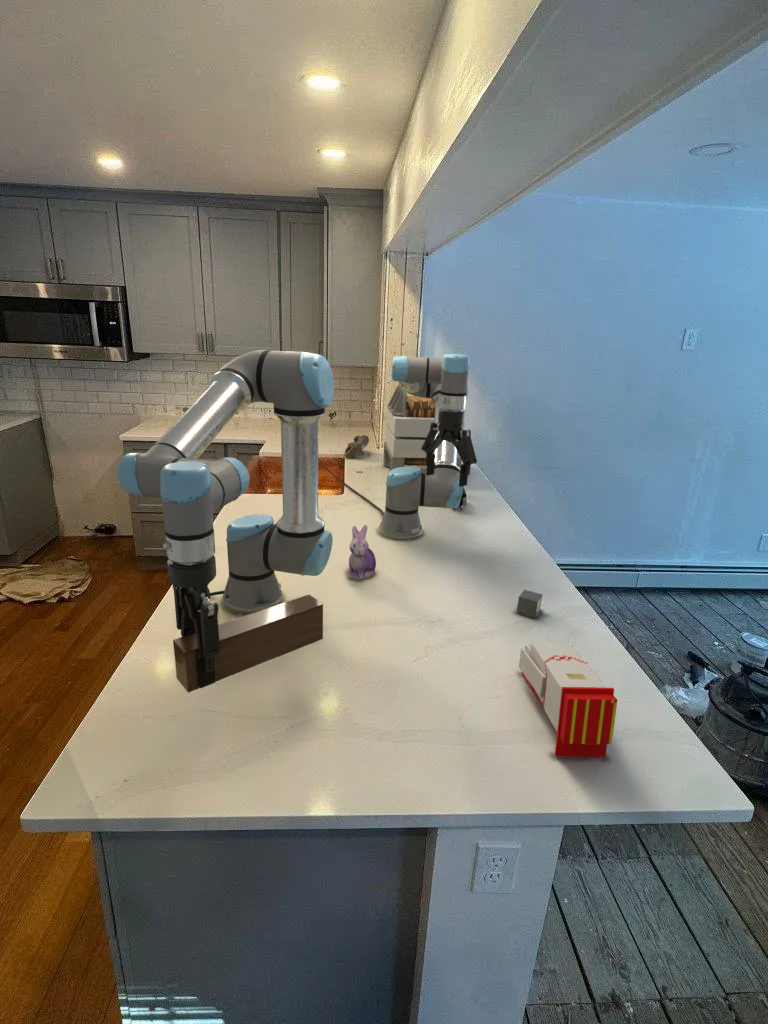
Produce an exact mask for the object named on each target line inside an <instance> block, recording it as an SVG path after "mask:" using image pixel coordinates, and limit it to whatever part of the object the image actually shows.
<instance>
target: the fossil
mask: <svg viewBox="0 0 768 1024" xmlns="http://www.w3.org/2000/svg"><path fill="white" fill-rule="evenodd" d="M369 443H370V438H369V435H366V434H362V435H360V434H359V435H355V436H354V437H353V442H349V443H348V444H347V447H346V448H345V449H344V450H345V451H344V457H345V458H347V459H351V458H353V457H356V456H357V455H358V454H359V453H361V454H362V455H364V454H365V453H364V452H363V450H364V449H365V447H367V446H368V444H369Z"/></svg>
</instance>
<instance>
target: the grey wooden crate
mask: <svg viewBox="0 0 768 1024" xmlns="http://www.w3.org/2000/svg"><path fill="white" fill-rule="evenodd" d="M407 394H408V393H407V392H405V391H404V390H403V389H402V388H401V386H400V384H398V385H397V386H396V388H395V390H394V392H393V394H392V395H391V398H390V400H389V402H388V404H387V405H386V413H385V414H386V415H385V423H386V428H385V438H384V442H383V466H384V467H388V468H389V472H390V471H391V470H393V469H395V468H399V467H405V466H406V467H407V466H412V467H417V466H418V467H427V464H426V452H425V451H423V450H422V449H421V448H422V446H423V444H424V441H425V439H426V437H427V435H428V433H429V431H430V427H431V423H434V420H435V406H434V405H433V404H432V402H431V398H421V397H417V396H414V395H407ZM462 430H465V419H464V423H463V425H462ZM432 454H433V453H432ZM462 463H463V462H462V460H461V458H460V456H459V454H458V451H457V466H458V467H459V468H461V464H462Z"/></svg>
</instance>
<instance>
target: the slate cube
mask: <svg viewBox="0 0 768 1024" xmlns="http://www.w3.org/2000/svg"><path fill="white" fill-rule="evenodd" d="M542 600H543V593H539V592H535V591H532V590H528V589H525V588H524V589H523V590H522V592H521V593H520V594H519V596H518V599H517V608H516V614H517V615H521V616H525V617H528V618H532V619H536V618H537V617H538V615H539V613H540V612H541V607H542Z"/></svg>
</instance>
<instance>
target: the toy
mask: <svg viewBox="0 0 768 1024" xmlns="http://www.w3.org/2000/svg"><path fill="white" fill-rule="evenodd" d="M518 668H519V670H520V671H521V675H522V677H523V678H524V680H525V681H526V683H527V684H528V686H529V687H530V689H531V691H532V692H533V693H534V696H535V697H536V699H537V700H538V702H539V703H540V705H541V706H542V707H543V711H544V712H545V713H546V715H547V717H548V719H549V721H550V722H551V724H552V726H553V727H554V730H555V732H556V739H555V748H554V749H555V750H554V756H555V757H561V758H562V757H563V758H564V757H567V758H568V757H569V758H570V757H571V758H573V757H574V758H576V757H577V758H606V757H607V749H608V745H613V739H614V738H613V737H614V729H615V724H616V723H615V722H616V714H617V707H618V698H617V697H616V696H615V695H614V694H615V688H614V687H607V685H606V684H605V682H604V681H603V680H602V679H601V678H600V677H599V675H598V673H596V672H595V670H594V669H593V668H592V666H590V664H589V663H588V662H587V660H586V659H585V658H584V657H583V655H582V654H581V653H580V652H579V651H578V649H577V648H576V647H575V646H574V645H573V643H572V642H531V643H525V644H524V648H520V655H519V662H518Z"/></svg>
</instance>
